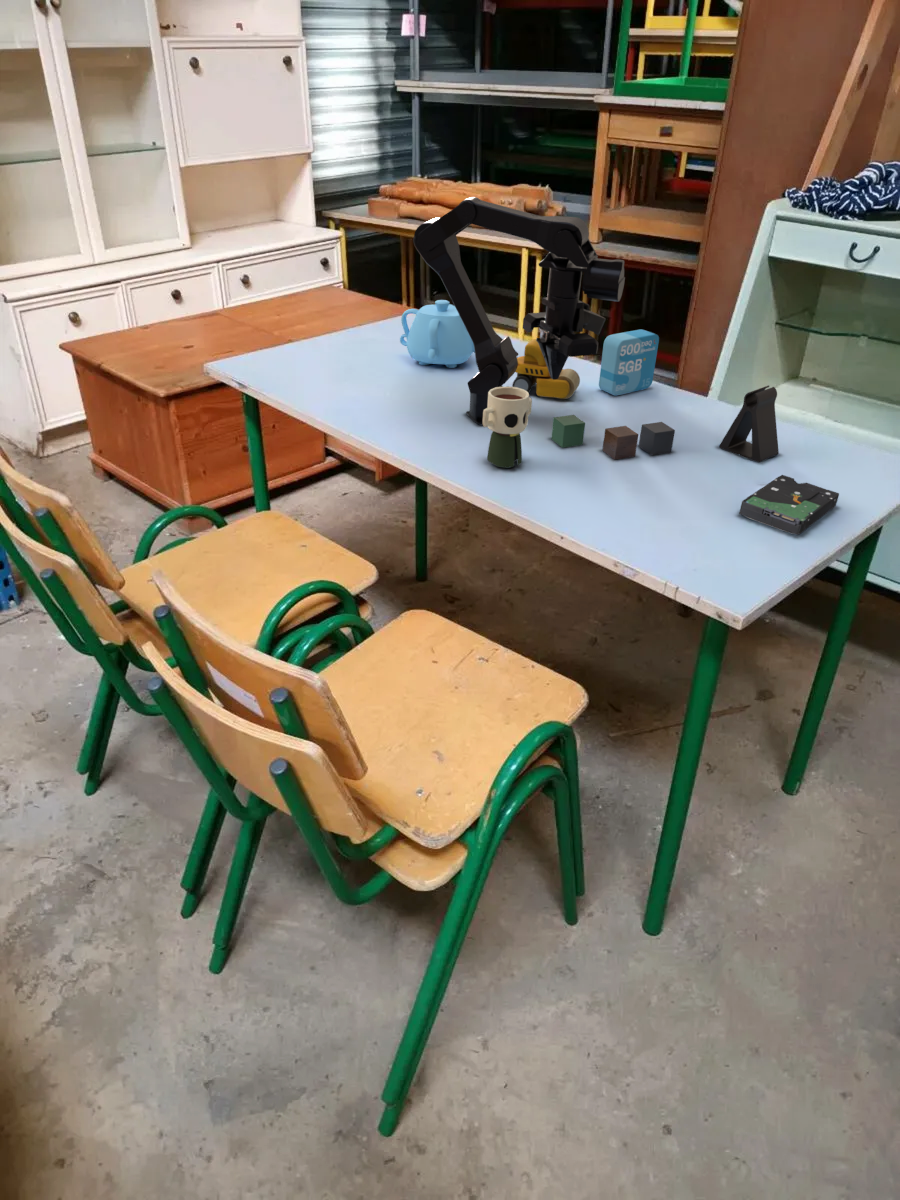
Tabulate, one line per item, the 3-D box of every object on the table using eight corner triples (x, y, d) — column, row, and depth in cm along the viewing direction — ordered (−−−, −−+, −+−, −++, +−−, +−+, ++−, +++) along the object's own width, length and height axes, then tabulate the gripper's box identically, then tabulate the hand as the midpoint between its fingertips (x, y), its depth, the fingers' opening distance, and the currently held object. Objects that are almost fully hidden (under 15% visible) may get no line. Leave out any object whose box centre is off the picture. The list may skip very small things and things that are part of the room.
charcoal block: (651, 455, 161) (655, 432, 159) (638, 446, 165) (641, 424, 162) (671, 452, 163) (675, 430, 160) (658, 443, 166) (661, 421, 164)
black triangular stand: (778, 455, 163) (793, 393, 156) (759, 463, 160) (774, 399, 153) (737, 440, 169) (750, 379, 162) (718, 447, 165) (731, 385, 159)
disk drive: (776, 488, 151) (737, 515, 142) (780, 473, 150) (741, 500, 140) (835, 508, 145) (799, 537, 136) (840, 492, 144) (803, 521, 134)
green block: (562, 447, 163) (564, 425, 161) (551, 439, 167) (553, 417, 164) (582, 444, 165) (585, 422, 162) (571, 436, 168) (573, 414, 166)
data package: (611, 397, 187) (618, 341, 180) (597, 391, 190) (604, 335, 184) (652, 388, 193) (660, 333, 186) (637, 382, 196) (645, 328, 189)
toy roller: (571, 403, 183) (577, 353, 177) (505, 394, 187) (508, 345, 181) (580, 390, 190) (585, 342, 184) (516, 381, 194) (519, 334, 188)
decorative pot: (458, 347, 214) (459, 289, 207) (487, 366, 202) (490, 306, 195) (396, 354, 208) (395, 295, 201) (423, 374, 196) (423, 313, 189)
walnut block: (614, 459, 159) (617, 437, 157) (602, 450, 163) (605, 428, 160) (635, 456, 161) (638, 434, 158) (622, 447, 164) (625, 425, 162)
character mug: (494, 477, 151) (498, 405, 144) (468, 463, 156) (471, 393, 149) (540, 462, 157) (546, 393, 150) (513, 449, 162) (518, 381, 155)
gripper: (629, 304, 153) (616, 391, 161) (576, 279, 167) (567, 360, 176) (573, 309, 149) (563, 397, 158) (524, 283, 163) (518, 365, 172)
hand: (554, 378), depth 166 cm, fingers closed
